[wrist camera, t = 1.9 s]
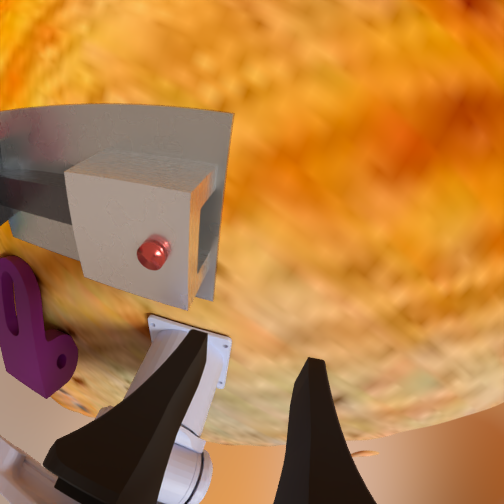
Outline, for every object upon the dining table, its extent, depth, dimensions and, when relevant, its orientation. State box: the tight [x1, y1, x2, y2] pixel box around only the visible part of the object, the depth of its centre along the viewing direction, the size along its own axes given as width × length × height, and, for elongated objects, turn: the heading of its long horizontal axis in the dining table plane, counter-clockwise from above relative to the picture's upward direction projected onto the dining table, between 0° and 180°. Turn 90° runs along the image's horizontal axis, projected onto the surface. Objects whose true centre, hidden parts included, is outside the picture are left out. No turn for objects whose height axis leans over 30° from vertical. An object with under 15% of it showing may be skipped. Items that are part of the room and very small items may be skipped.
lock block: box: [64, 149, 218, 311], centre depth 17 cm, size 8×8×5 cm
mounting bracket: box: [0, 255, 78, 399], centre depth 31 cm, size 9×8×18 cm
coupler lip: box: [0, 103, 234, 301], centre depth 18 cm, size 14×24×4 cm, turn 82°
